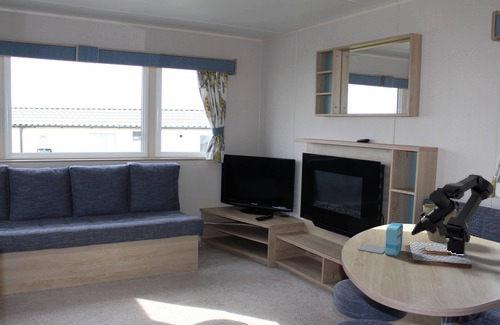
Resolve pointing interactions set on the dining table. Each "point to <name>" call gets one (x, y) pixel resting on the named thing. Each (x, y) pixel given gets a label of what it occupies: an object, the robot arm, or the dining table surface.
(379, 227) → the dining table surface
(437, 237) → the plant pot
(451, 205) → the robot arm
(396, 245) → the data package
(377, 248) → the gray flat panel
